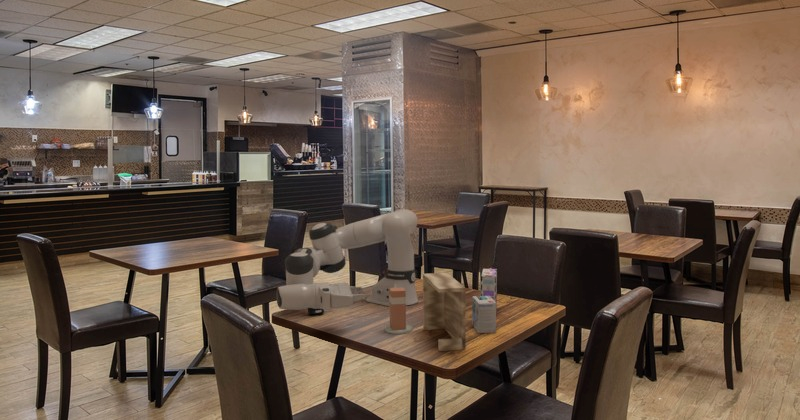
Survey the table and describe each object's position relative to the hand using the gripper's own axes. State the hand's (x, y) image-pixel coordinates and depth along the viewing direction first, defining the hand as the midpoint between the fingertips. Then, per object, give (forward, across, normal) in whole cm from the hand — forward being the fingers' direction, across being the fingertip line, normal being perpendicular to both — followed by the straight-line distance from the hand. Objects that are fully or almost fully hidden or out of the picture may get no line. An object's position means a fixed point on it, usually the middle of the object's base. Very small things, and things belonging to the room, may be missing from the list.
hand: (363, 292), depth 200 cm
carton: (+12, -1, -14) cm, 18 cm away
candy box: (+51, -15, -15) cm, 55 cm away
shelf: (+25, +12, -14) cm, 32 cm away
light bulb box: (+43, +4, -15) cm, 45 cm away
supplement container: (-16, -28, -15) cm, 35 cm away
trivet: (+12, -1, -14) cm, 19 cm away
